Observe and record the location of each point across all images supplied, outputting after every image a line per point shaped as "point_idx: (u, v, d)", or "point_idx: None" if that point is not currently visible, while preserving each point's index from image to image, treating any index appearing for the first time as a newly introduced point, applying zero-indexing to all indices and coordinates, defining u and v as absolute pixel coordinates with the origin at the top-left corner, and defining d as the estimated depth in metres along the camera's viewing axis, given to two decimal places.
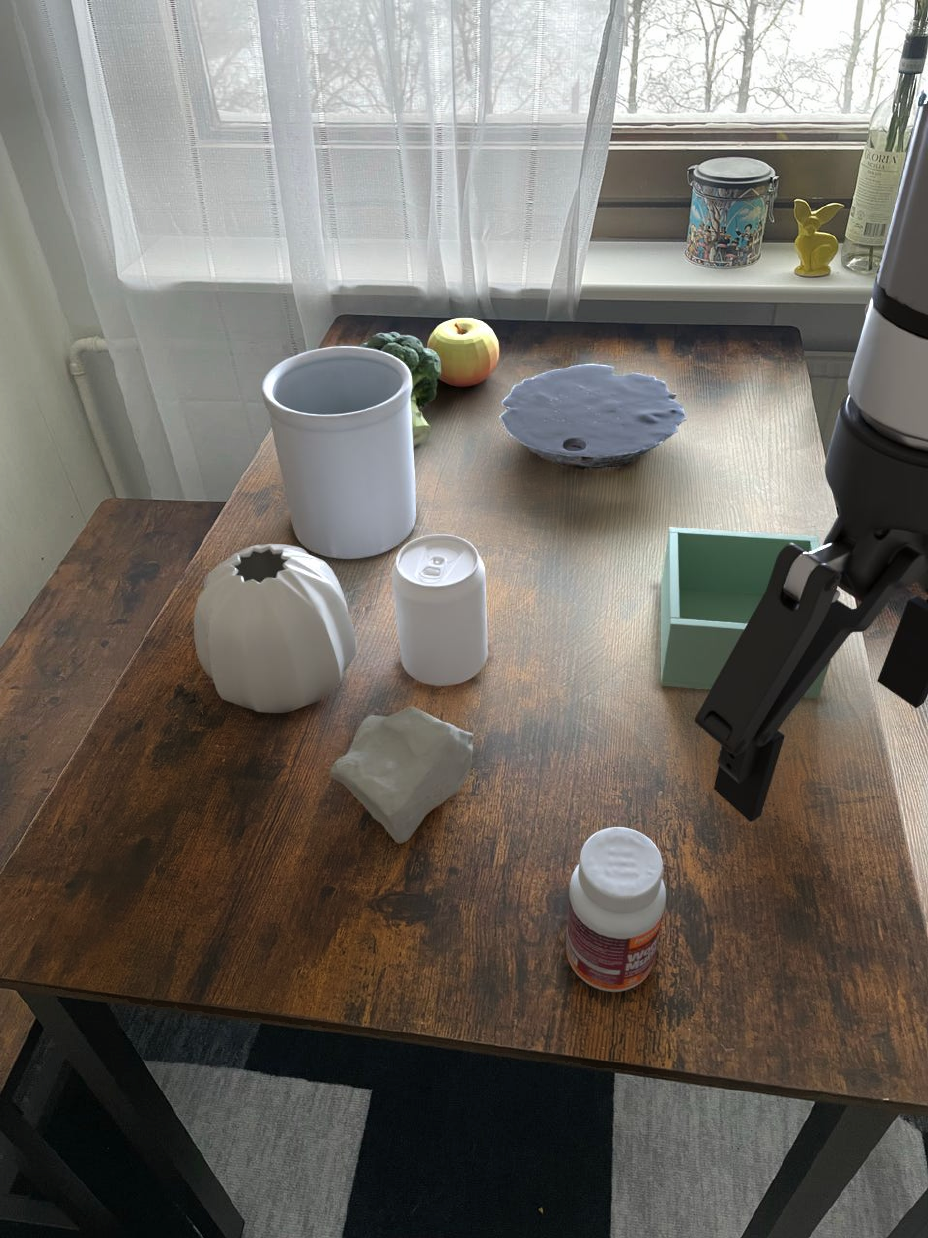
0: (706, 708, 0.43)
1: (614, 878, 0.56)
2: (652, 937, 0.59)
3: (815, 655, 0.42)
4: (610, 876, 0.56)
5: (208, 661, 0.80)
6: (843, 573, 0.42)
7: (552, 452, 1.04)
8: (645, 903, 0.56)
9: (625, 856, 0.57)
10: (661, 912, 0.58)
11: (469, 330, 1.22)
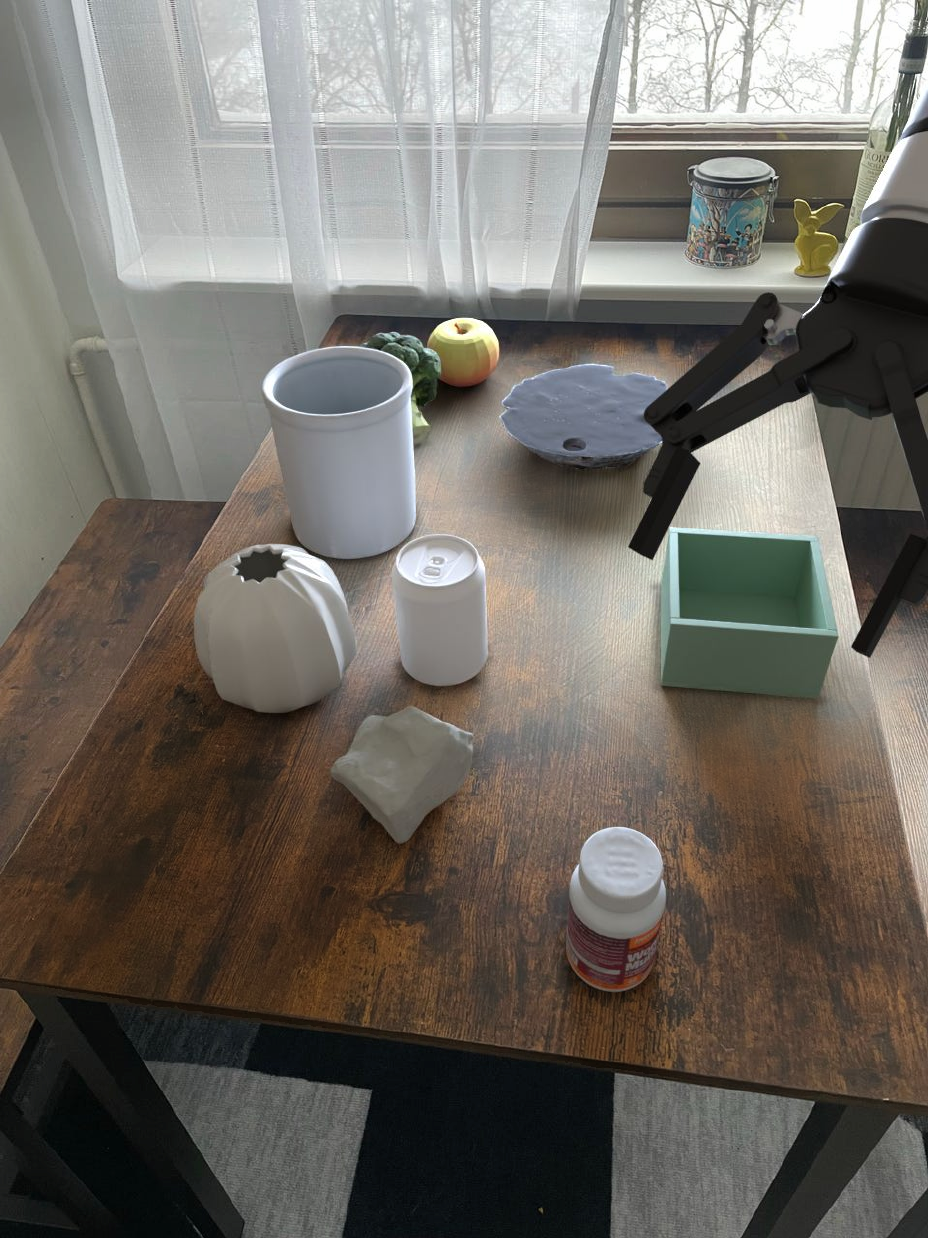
0: None
1: (614, 878, 0.56)
2: (652, 937, 0.59)
3: None
4: (610, 876, 0.56)
5: (208, 661, 0.80)
6: None
7: (552, 452, 1.04)
8: (645, 903, 0.56)
9: (624, 856, 0.57)
10: (661, 912, 0.58)
11: (469, 330, 1.22)
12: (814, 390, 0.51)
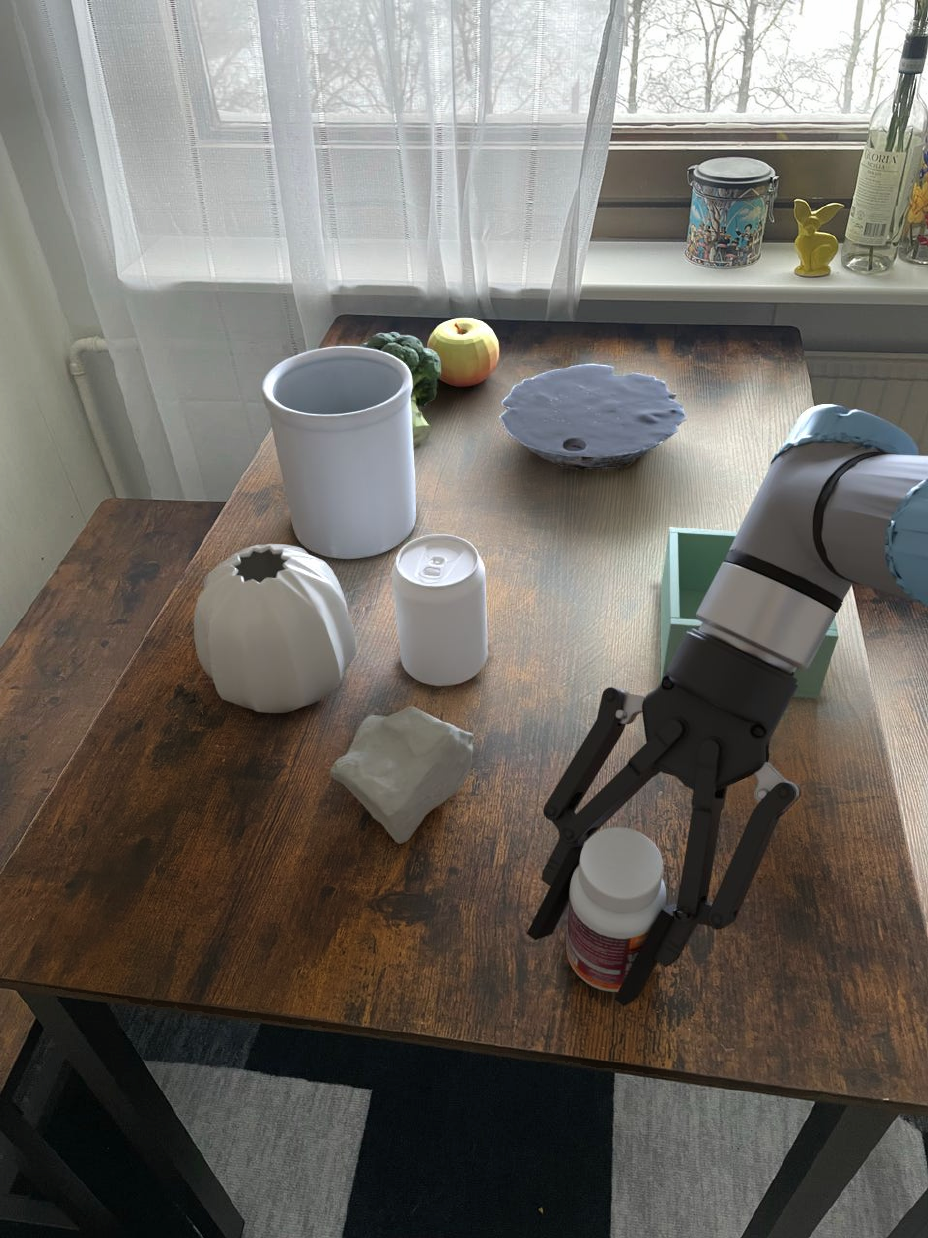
0: None
1: (615, 878, 0.56)
2: None
3: None
4: (611, 876, 0.56)
5: (208, 661, 0.80)
6: None
7: (552, 452, 1.04)
8: (645, 903, 0.56)
9: (625, 856, 0.57)
10: None
11: (469, 330, 1.22)
12: (654, 766, 0.59)
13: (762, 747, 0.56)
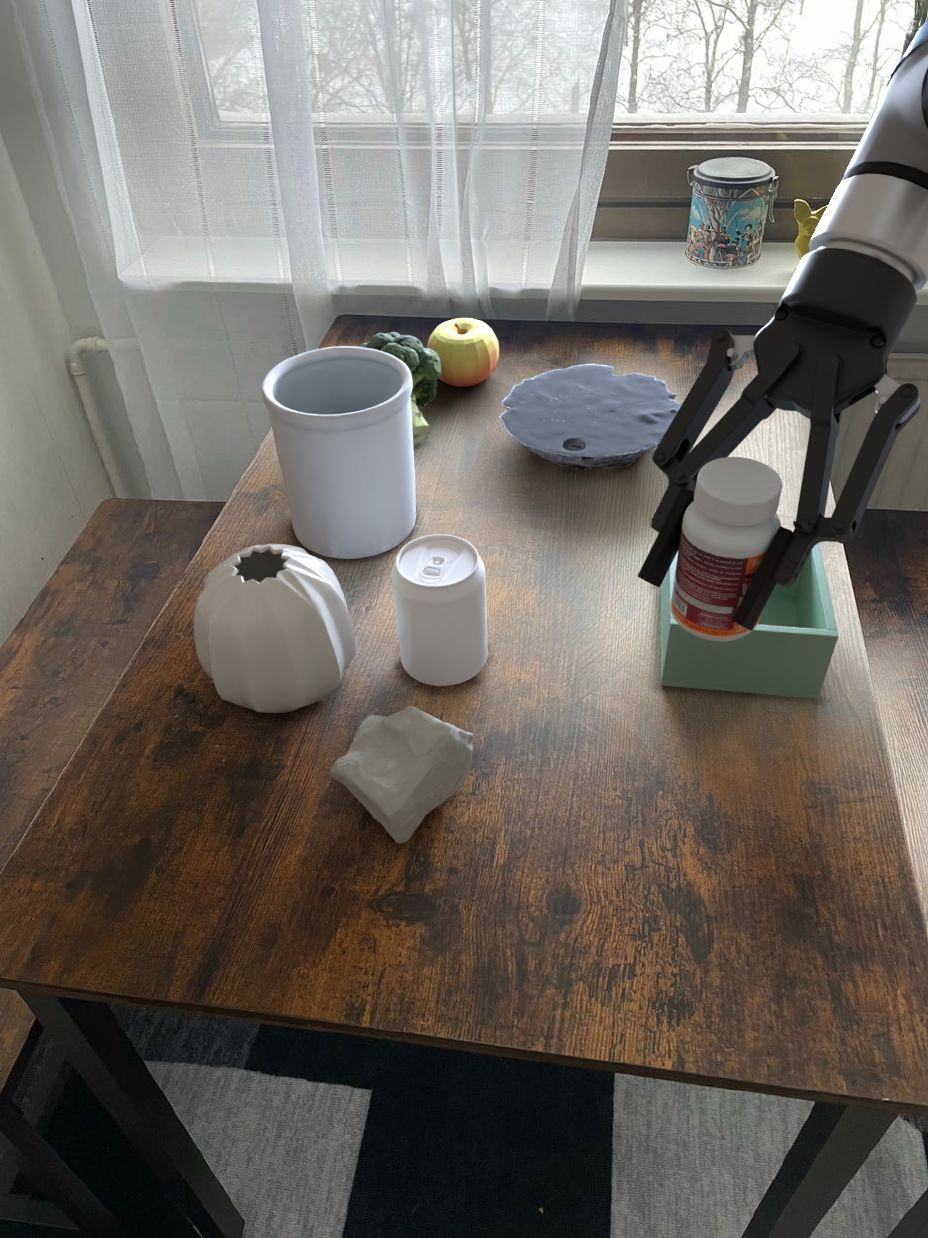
0: None
1: (735, 490, 0.56)
2: None
3: None
4: (731, 489, 0.56)
5: (208, 661, 0.80)
6: None
7: (552, 452, 1.04)
8: (765, 514, 0.56)
9: (742, 476, 0.57)
10: None
11: (469, 329, 1.22)
12: (768, 395, 0.59)
13: (882, 357, 0.56)
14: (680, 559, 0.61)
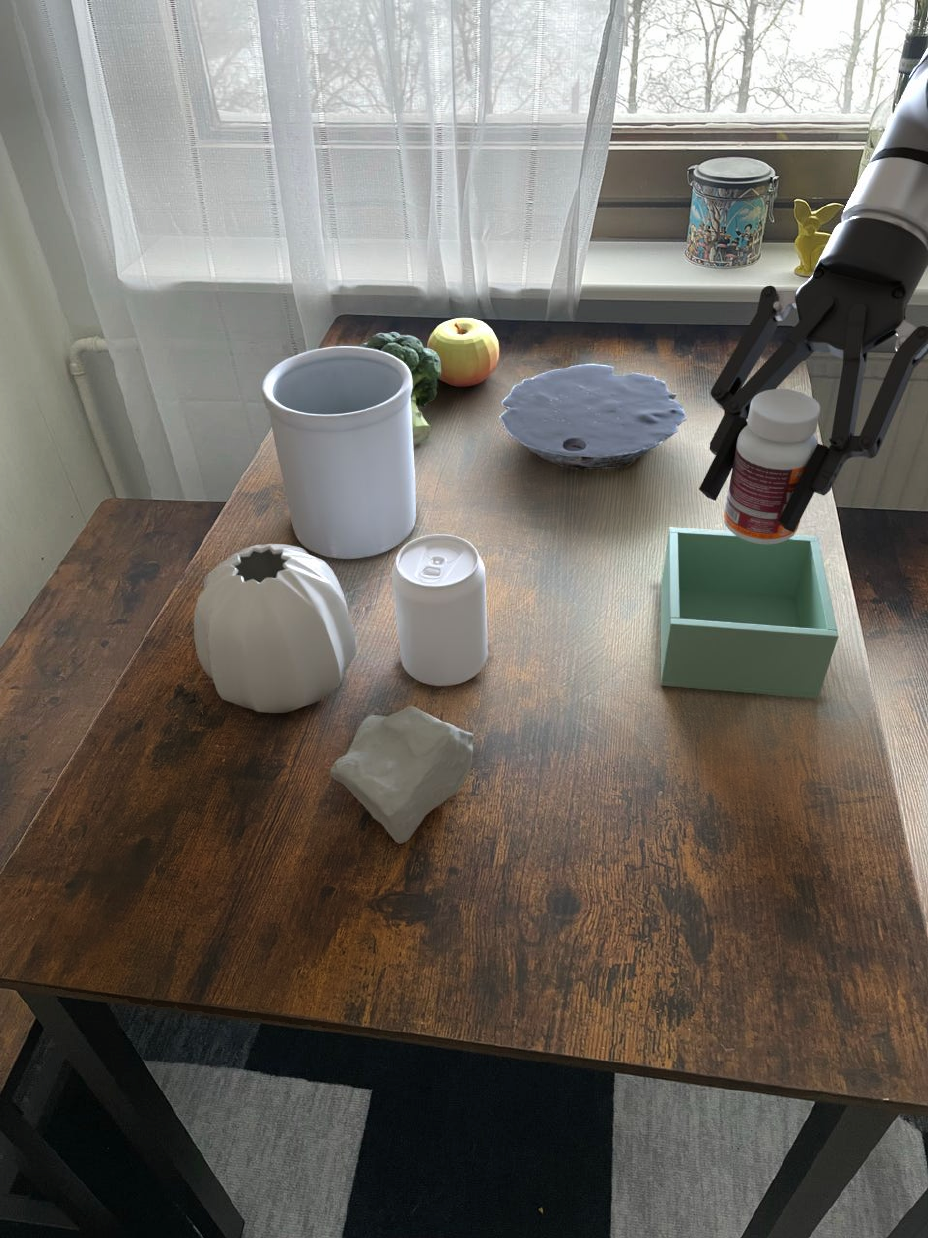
0: None
1: (782, 413, 0.69)
2: None
3: None
4: (778, 412, 0.70)
5: (208, 661, 0.80)
6: None
7: (552, 452, 1.04)
8: (807, 433, 0.69)
9: (788, 403, 0.70)
10: None
11: (469, 330, 1.22)
12: (807, 339, 0.72)
13: (901, 305, 0.69)
14: (734, 474, 0.74)
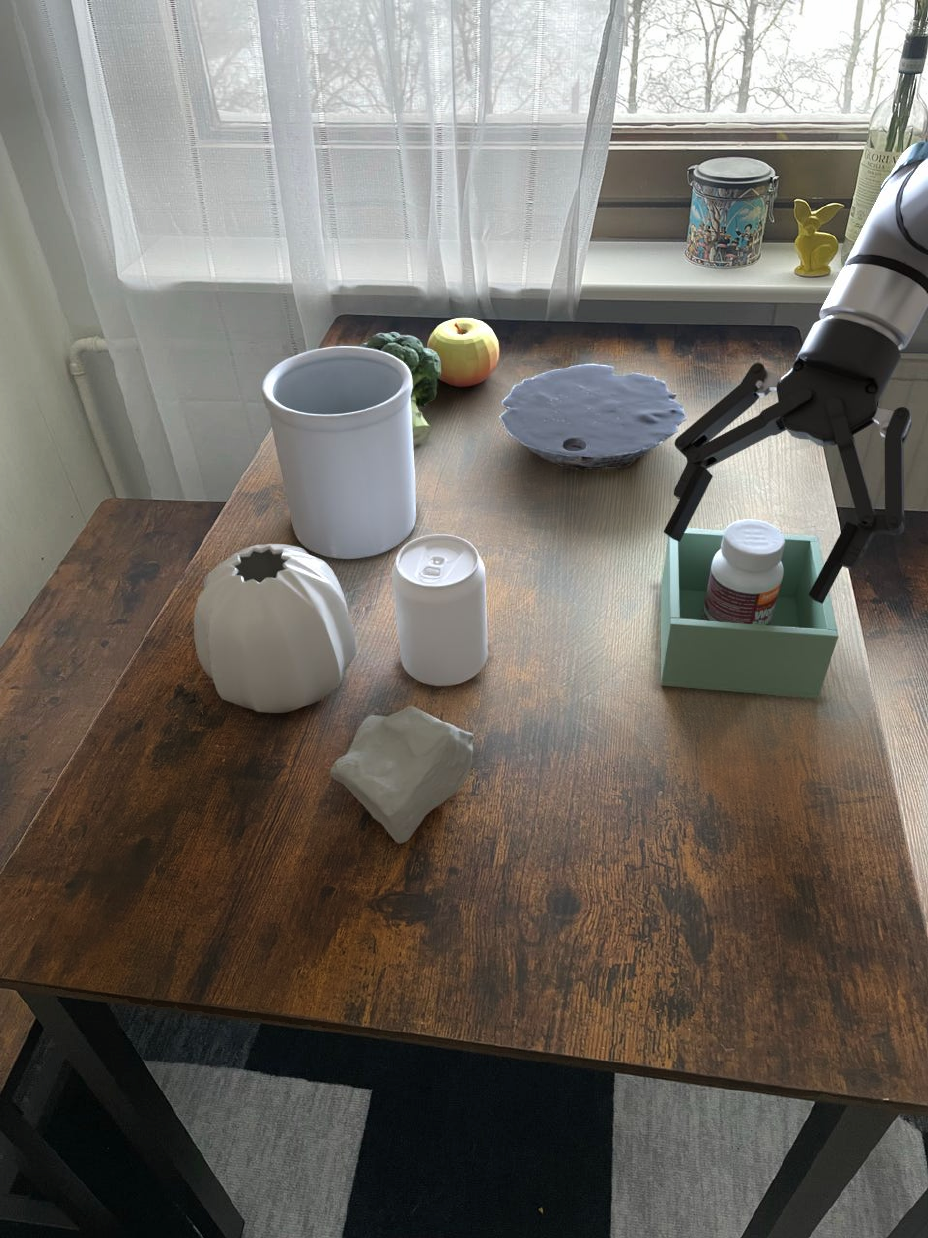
0: None
1: (751, 545, 0.78)
2: (773, 598, 0.81)
3: None
4: (748, 544, 0.78)
5: (208, 661, 0.80)
6: None
7: (552, 452, 1.04)
8: (773, 563, 0.78)
9: (756, 534, 0.79)
10: (781, 577, 0.80)
11: (469, 329, 1.22)
12: (788, 428, 0.77)
13: (874, 400, 0.74)
14: (709, 592, 0.83)
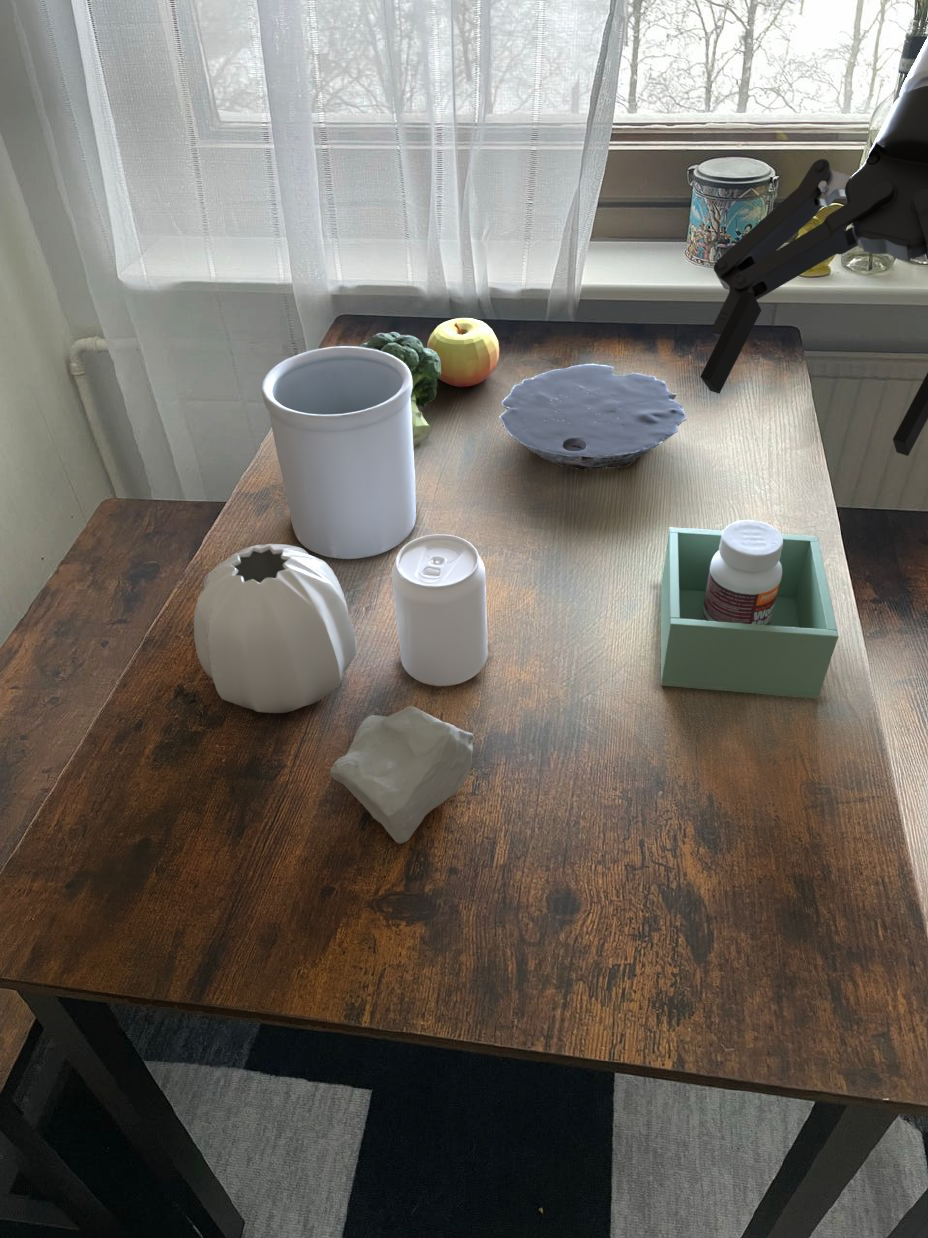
0: None
1: (749, 546, 0.78)
2: (772, 599, 0.81)
3: None
4: (746, 545, 0.78)
5: (208, 661, 0.80)
6: None
7: (552, 452, 1.04)
8: (771, 563, 0.78)
9: (754, 535, 0.79)
10: (780, 577, 0.80)
11: (469, 330, 1.22)
12: (861, 236, 0.61)
13: None
14: (708, 593, 0.83)
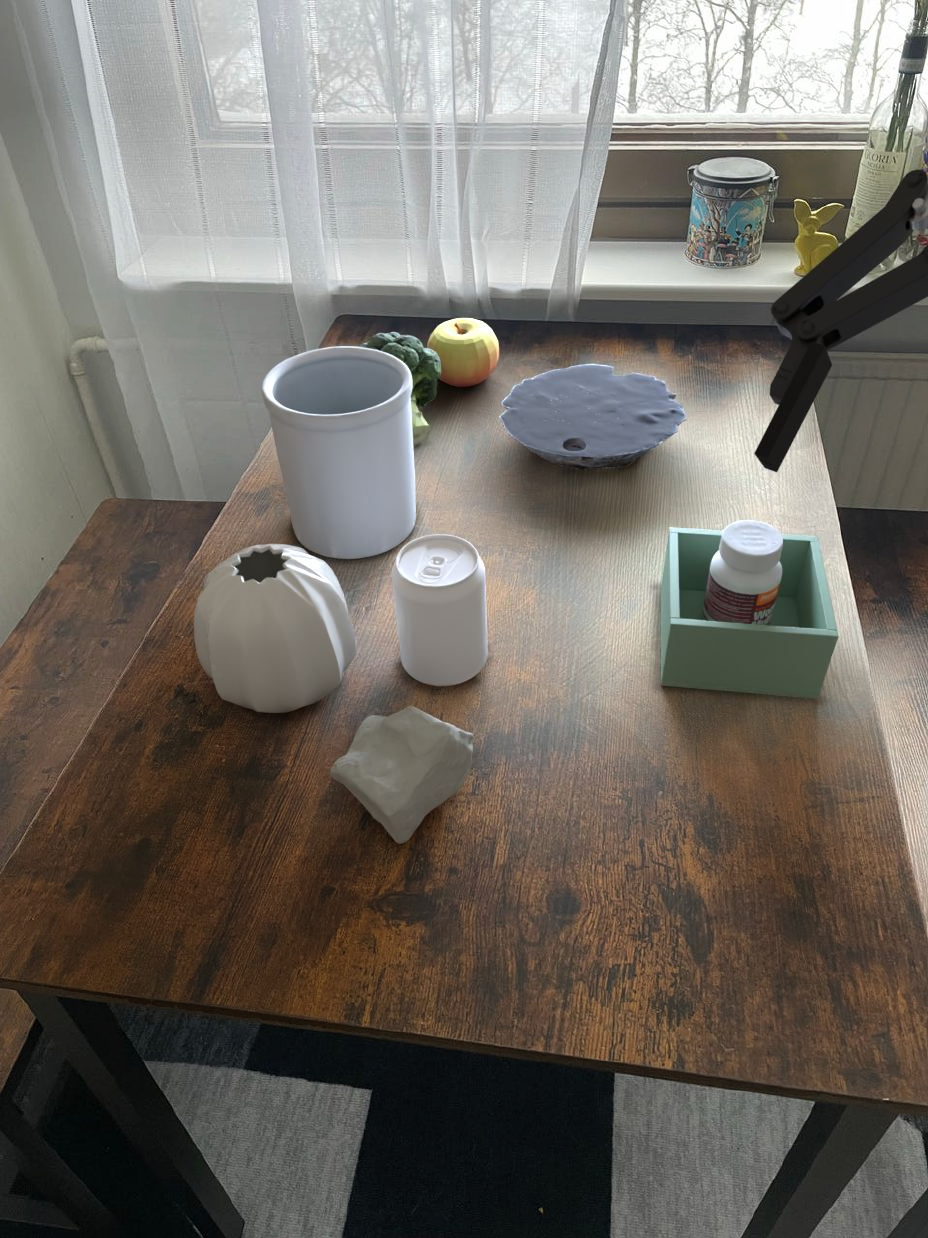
0: None
1: (749, 546, 0.78)
2: (772, 599, 0.81)
3: None
4: (746, 545, 0.78)
5: (208, 661, 0.80)
6: None
7: (552, 452, 1.04)
8: (771, 563, 0.78)
9: (754, 535, 0.79)
10: (780, 577, 0.80)
11: (469, 329, 1.22)
12: None
13: None
14: (708, 593, 0.83)
